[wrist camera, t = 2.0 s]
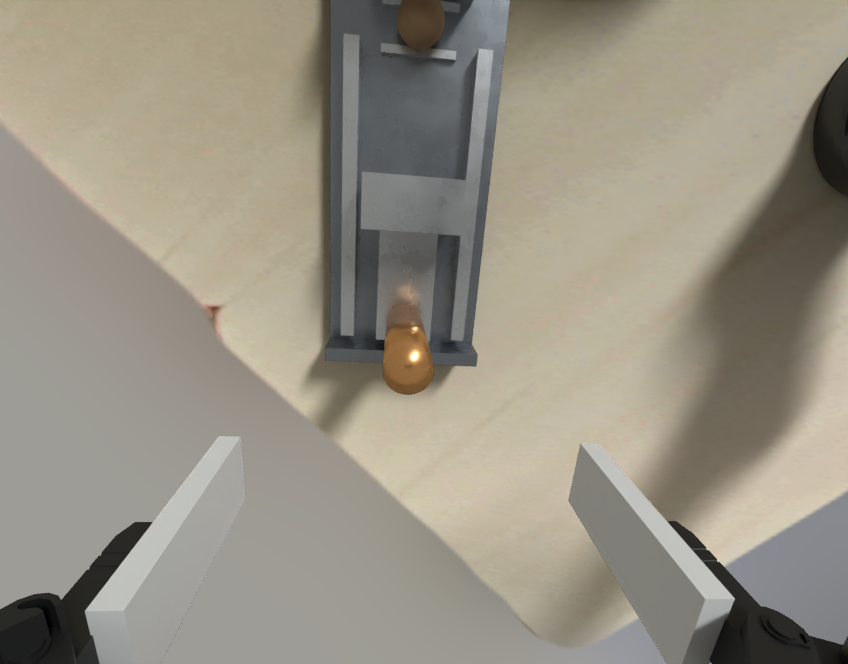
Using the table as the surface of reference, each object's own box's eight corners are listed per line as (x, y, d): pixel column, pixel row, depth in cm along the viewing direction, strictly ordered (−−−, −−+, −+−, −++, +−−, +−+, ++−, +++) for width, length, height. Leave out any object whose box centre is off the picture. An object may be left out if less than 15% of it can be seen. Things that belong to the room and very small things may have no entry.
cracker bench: (334, -103, 30) (310, -227, 22) (513, -78, 31) (557, -185, 23) (333, 342, 41) (316, 378, 32) (466, 348, 42) (485, 384, 33)
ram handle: (367, 177, 34) (349, 157, 21) (454, 184, 35) (491, 169, 21) (363, 332, 38) (346, 398, 25) (441, 335, 39) (465, 402, 26)
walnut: (418, -9, 31) (421, -36, 27) (451, 31, 32) (458, 9, 28) (387, 30, 31) (386, 8, 28) (420, 67, 32) (423, 50, 29)
